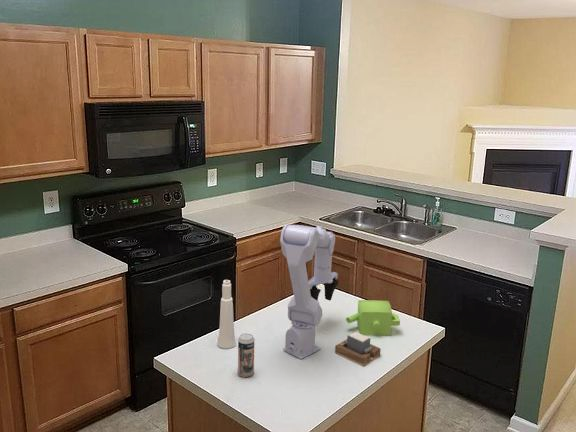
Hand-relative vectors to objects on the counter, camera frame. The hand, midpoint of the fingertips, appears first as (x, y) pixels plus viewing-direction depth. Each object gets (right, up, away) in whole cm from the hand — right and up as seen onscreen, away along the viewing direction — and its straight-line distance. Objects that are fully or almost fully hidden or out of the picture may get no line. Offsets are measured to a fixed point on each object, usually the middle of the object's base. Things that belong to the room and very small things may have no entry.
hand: (320, 302), depth 185 cm
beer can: (-24, -17, -27) cm, 39 cm away
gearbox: (+17, -10, +2) cm, 20 cm away
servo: (+11, -14, -14) cm, 23 cm away
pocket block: (+11, -14, -14) cm, 23 cm away
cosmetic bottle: (-31, -12, -11) cm, 35 cm away
